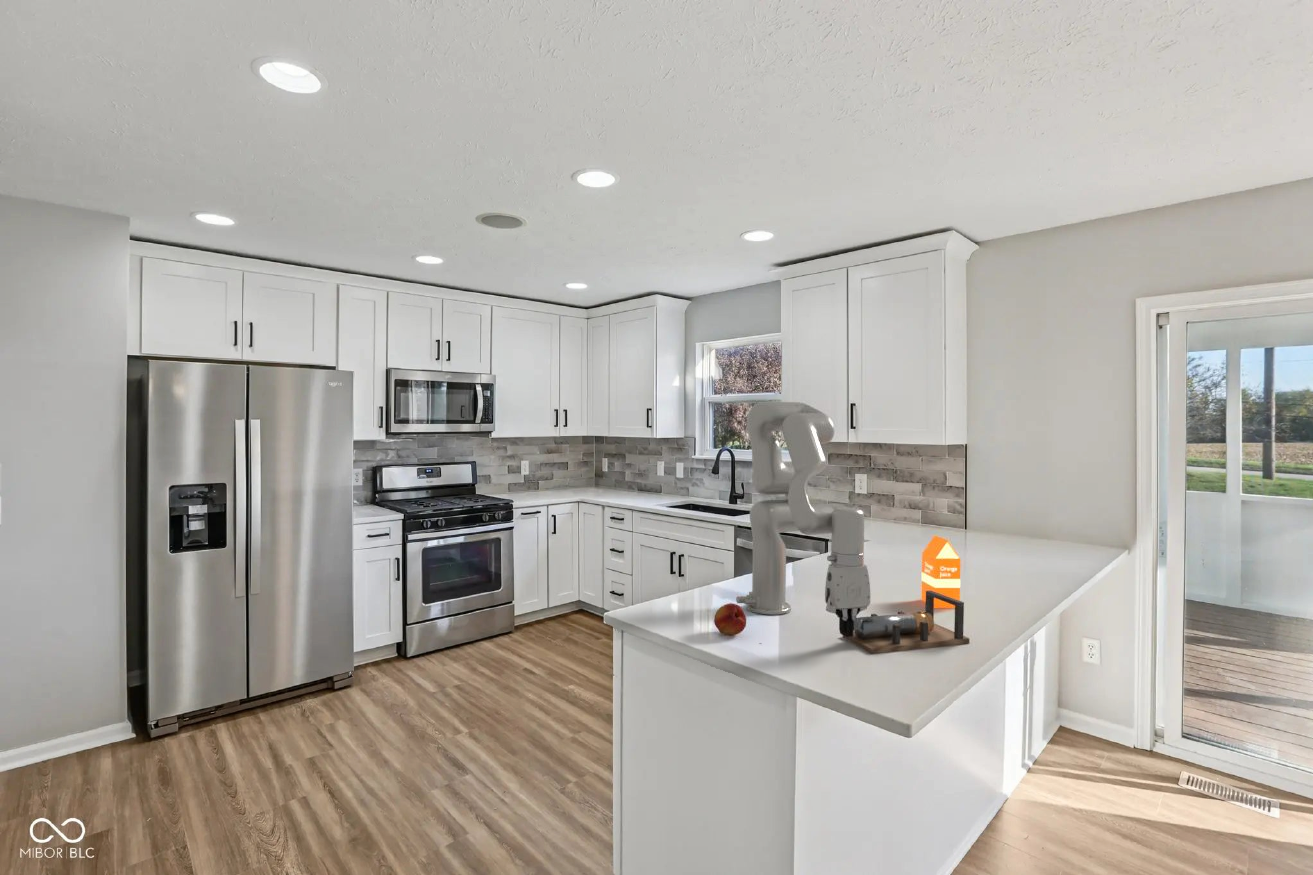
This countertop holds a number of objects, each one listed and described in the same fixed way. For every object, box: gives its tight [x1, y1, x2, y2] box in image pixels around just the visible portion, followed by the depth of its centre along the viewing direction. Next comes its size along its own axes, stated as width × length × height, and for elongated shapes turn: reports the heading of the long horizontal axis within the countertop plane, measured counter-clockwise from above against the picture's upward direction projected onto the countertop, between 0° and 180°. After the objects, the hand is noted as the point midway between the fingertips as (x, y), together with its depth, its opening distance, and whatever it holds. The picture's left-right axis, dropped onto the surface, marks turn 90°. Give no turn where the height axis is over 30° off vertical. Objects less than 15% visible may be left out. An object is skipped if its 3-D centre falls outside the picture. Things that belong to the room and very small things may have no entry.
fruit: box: [713, 602, 747, 636], centre depth 160 cm, size 8×8×8 cm
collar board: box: [842, 590, 970, 655], centre depth 157 cm, size 28×12×10 cm, turn 107°
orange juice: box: [920, 534, 962, 609], centre depth 190 cm, size 8×9×20 cm
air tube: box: [854, 611, 935, 639], centre depth 158 cm, size 20×5×5 cm, turn 107°
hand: (846, 634), depth 152 cm, fingers closed
